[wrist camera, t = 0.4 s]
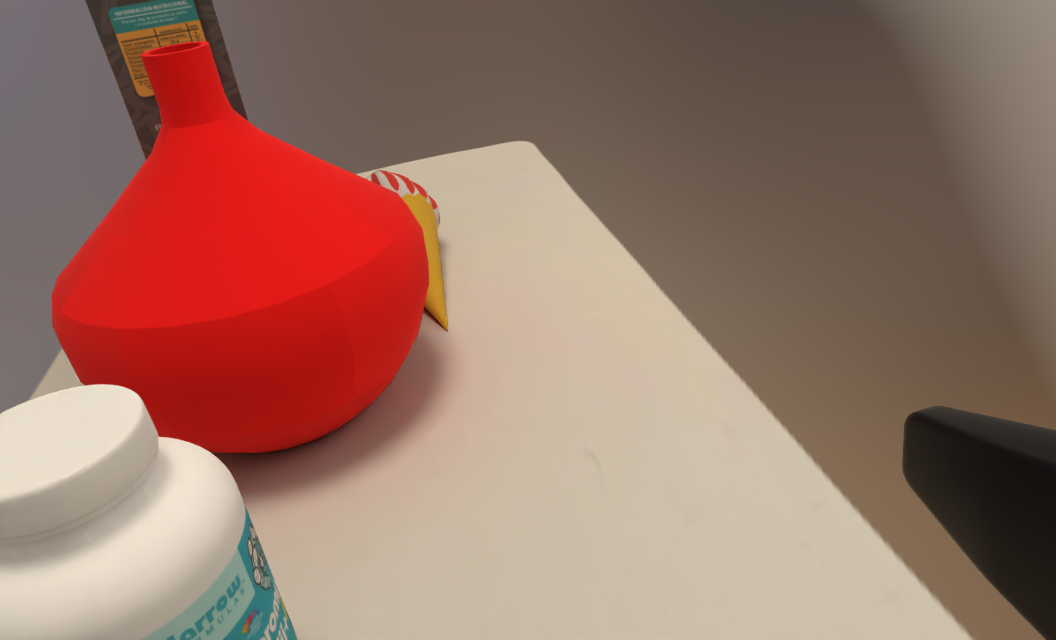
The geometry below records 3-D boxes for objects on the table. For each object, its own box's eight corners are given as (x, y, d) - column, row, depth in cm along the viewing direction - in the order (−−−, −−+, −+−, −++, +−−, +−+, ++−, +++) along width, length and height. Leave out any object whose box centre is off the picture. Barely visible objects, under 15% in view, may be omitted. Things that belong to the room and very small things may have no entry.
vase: (82, 557, 35) (-155, 140, 25) (150, 354, 50) (19, 50, 41) (479, 453, 38) (400, 45, 28) (427, 292, 53) (365, -5, 44)
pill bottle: (297, 872, 22) (119, 533, 16) (49, 893, 23) (-229, 569, 16) (345, 648, 29) (234, 340, 22) (152, 667, 29) (-16, 369, 23)
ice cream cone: (440, 384, 51) (370, 221, 65) (513, 323, 50) (426, 171, 64) (376, 342, 47) (316, 177, 60) (454, 275, 46) (375, 122, 59)
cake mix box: (200, 234, 68) (57, -164, 54) (269, 216, 70) (149, -174, 55) (215, 344, 50) (6, -208, 36) (307, 317, 52) (145, -220, 37)
